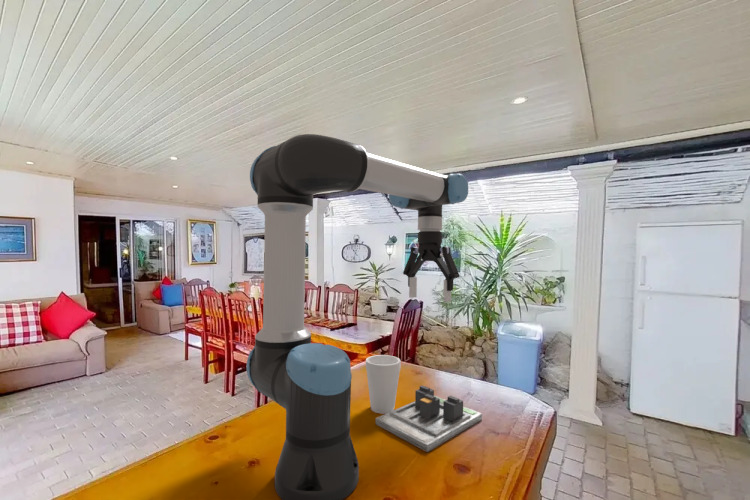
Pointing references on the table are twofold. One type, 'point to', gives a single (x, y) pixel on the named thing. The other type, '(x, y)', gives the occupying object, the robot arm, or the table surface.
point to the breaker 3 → (452, 408)
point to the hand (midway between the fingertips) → (429, 299)
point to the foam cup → (382, 382)
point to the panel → (425, 425)
